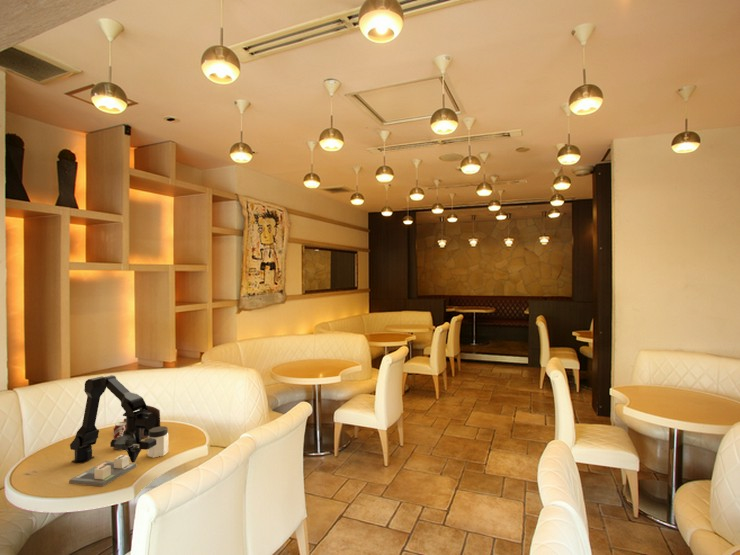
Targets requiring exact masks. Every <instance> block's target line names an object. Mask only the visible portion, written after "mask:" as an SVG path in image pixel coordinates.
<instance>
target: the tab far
mask: <svg viewBox="0 0 740 555" xmlns="http://www.w3.org/2000/svg"><path fill="white" fill-rule="evenodd" d="M113 462H114V468H120V469H122V468H124V467H126V466H128V465H129V463H130V457H129V455H128V454H127V455H125V454H120V455H118V456H117V457H114V458H113Z"/></svg>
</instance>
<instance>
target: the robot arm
mask: <svg viewBox="0 0 740 555" xmlns="http://www.w3.org/2000/svg"><path fill="white" fill-rule="evenodd" d="M106 389H108V390H109V391H110V392H111V393H112V394H113V396H115V397H116V398H117V400H119V401H120V406H121V408H122V409H123V411H124V413H123V414H122V416H123V417H125V418H126V430H125V431H124V432H123V436H119V437H117V438H115V439H111V441H110V446H109V447H110V448H113V447H116V449H115V450H117V451H120V450H121V451H126V453H127V455H128V456H129V461H130V463H135V462H136V460H137V459H138V456H139V454H140V452H141V451H142V450H146V451H147V450H148V449H149V448H151V447H153V446H155V445H156V439H153V438H145V439H143V436H141V430H143V429H148V430H150V429H152V428H153V427H154V426H155V424H156V418H155V417H154V416H152V413H147V412H149V409H148V407H147V405H148V404H146V401H145V399H144V398H143V397H142V396H140V395H139V394H138V393H135V392H131V391H130V390H129V389H128V388H126V387H125V386H124V385H123V383H121V382H120V381H119V380H118V378H117V376H116V375H107V376H97V377H92V378H89V379H88V378H87V380H85V382H84V389H83V392H84V393H85V395H86V396H87V398H86V403H85V407H84V412H83V413H84V414H83V418H82V424H81V426H80V428H78V430H77V431H76V433H75V437H74V439H73V440H72V441H71V443H70V444H69V447H70V450H73V451H74V459H73V460H71V463H76V464H78V463H79V464H85V463H86V462H88V461H90V460H92V459H94V458H95V456H93V445H96V442H97V439H98V438H99V432H100V430H99V429H98V428H97V427H96V421H97V416H98V411H99V406H100V405H99V404H100V399H101V396H103V394H104V393H105V391H106ZM139 409H142V410H139Z"/></svg>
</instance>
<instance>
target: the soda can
mask: <svg viewBox="0 0 740 555" xmlns="http://www.w3.org/2000/svg"><path fill="white" fill-rule="evenodd" d="M125 430H126V422H124V421H120V422H116V423H115V425H114V427H113V439H115V438H117V437H119V436H123V432H124V431H125ZM113 439H112V440H113ZM112 448H113V449H114V450H116V447H112Z"/></svg>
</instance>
